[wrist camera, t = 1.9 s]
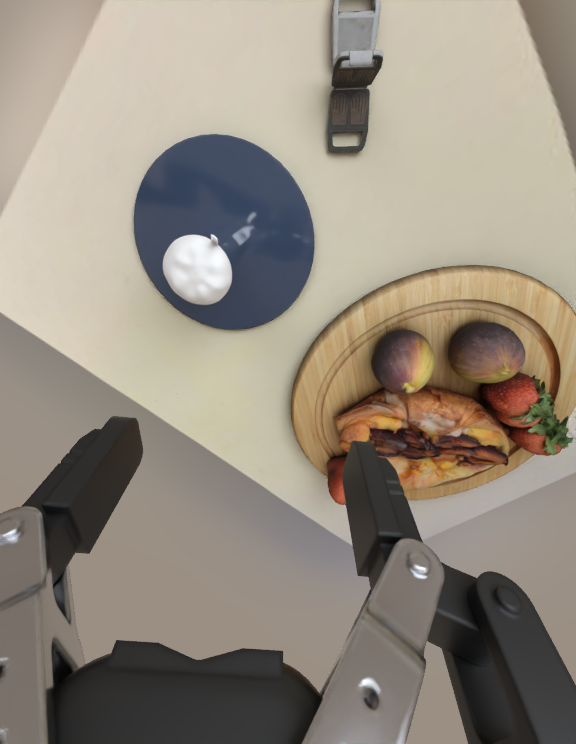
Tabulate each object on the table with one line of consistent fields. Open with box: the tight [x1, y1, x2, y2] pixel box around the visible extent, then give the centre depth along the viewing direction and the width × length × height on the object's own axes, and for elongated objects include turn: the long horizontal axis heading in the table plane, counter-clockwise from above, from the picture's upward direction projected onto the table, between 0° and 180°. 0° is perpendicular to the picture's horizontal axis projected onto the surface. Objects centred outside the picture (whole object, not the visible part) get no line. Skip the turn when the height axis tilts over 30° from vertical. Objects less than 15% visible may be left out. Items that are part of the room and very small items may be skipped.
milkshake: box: [163, 231, 240, 305], centre depth 22 cm, size 4×5×10 cm
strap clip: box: [327, 0, 383, 152], centre depth 19 cm, size 8×3×4 cm, turn 1°
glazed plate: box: [134, 134, 314, 330], centre depth 27 cm, size 16×16×1 cm
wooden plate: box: [291, 265, 576, 505], centre depth 32 cm, size 32×32×8 cm
